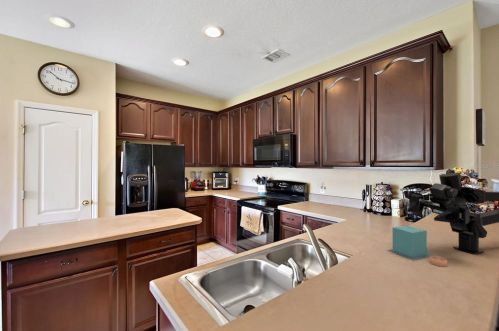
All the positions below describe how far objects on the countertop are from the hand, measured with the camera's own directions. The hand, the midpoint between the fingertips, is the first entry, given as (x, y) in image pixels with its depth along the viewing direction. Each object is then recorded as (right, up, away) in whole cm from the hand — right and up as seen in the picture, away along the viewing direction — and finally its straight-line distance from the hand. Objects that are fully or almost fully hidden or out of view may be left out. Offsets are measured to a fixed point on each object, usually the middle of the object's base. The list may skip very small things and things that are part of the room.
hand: (420, 214), depth 81 cm
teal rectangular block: (-2, -15, +2) cm, 15 cm away
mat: (-1, -15, +3) cm, 15 cm away
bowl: (+1, -15, -7) cm, 17 cm away
